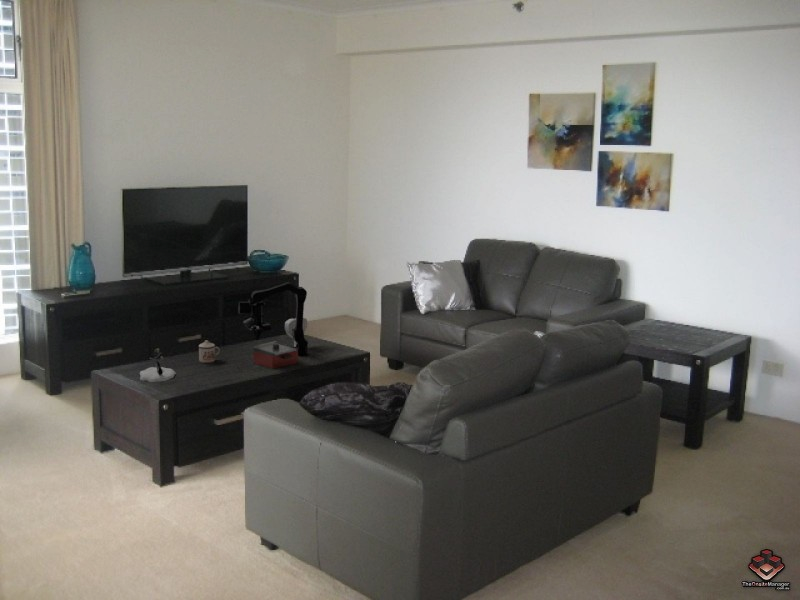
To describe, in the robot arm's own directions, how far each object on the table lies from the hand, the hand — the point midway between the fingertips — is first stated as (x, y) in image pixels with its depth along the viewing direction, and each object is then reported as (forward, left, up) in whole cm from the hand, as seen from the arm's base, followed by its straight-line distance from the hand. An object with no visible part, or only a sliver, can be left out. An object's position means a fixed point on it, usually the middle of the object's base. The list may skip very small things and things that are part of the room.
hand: (257, 339), depth 497 cm
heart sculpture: (-30, -1, -10) cm, 32 cm away
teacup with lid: (+24, -13, -10) cm, 29 cm away
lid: (0, +16, -5) cm, 16 cm away
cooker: (0, +17, -10) cm, 20 cm away
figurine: (+62, -7, -11) cm, 63 cm away
